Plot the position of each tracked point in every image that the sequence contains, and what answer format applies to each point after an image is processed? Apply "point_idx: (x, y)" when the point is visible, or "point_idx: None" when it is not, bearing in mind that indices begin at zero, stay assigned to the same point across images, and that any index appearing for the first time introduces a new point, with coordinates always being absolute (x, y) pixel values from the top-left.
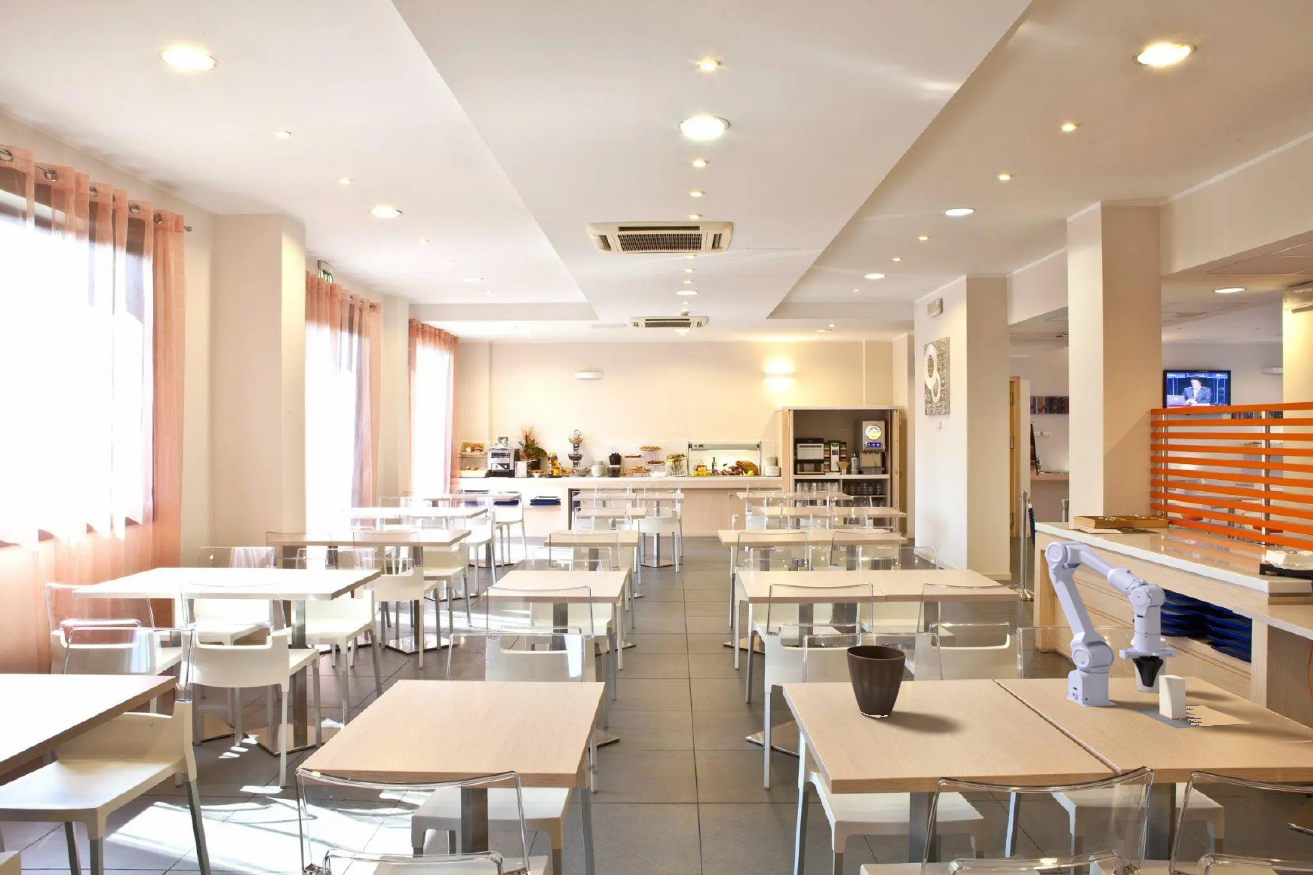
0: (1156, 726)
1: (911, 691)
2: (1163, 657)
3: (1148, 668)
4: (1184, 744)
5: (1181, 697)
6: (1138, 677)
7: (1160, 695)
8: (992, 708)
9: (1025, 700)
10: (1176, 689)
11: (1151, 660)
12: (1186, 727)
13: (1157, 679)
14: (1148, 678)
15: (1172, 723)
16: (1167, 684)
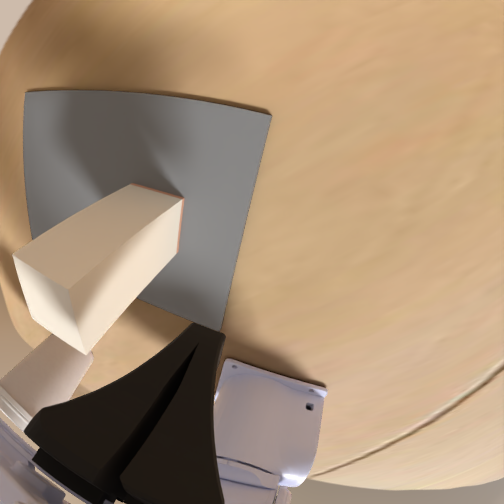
0: (312, 180)
1: (459, 472)
2: (15, 375)
3: (201, 452)
4: (423, 5)
5: (91, 218)
6: (79, 377)
7: (139, 288)
8: (483, 425)
9: (386, 440)
10: (83, 245)
11: (114, 483)
12: (219, 105)
13: (54, 351)
14: (214, 378)
15: (227, 162)
16: (97, 291)
